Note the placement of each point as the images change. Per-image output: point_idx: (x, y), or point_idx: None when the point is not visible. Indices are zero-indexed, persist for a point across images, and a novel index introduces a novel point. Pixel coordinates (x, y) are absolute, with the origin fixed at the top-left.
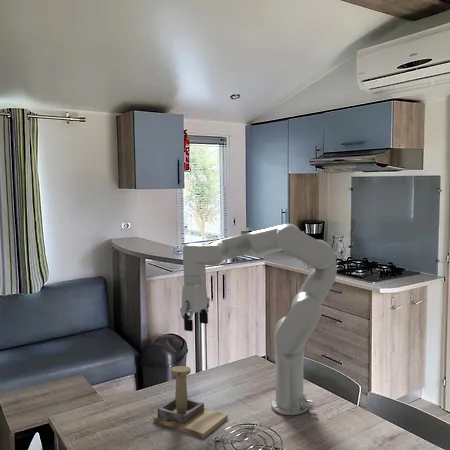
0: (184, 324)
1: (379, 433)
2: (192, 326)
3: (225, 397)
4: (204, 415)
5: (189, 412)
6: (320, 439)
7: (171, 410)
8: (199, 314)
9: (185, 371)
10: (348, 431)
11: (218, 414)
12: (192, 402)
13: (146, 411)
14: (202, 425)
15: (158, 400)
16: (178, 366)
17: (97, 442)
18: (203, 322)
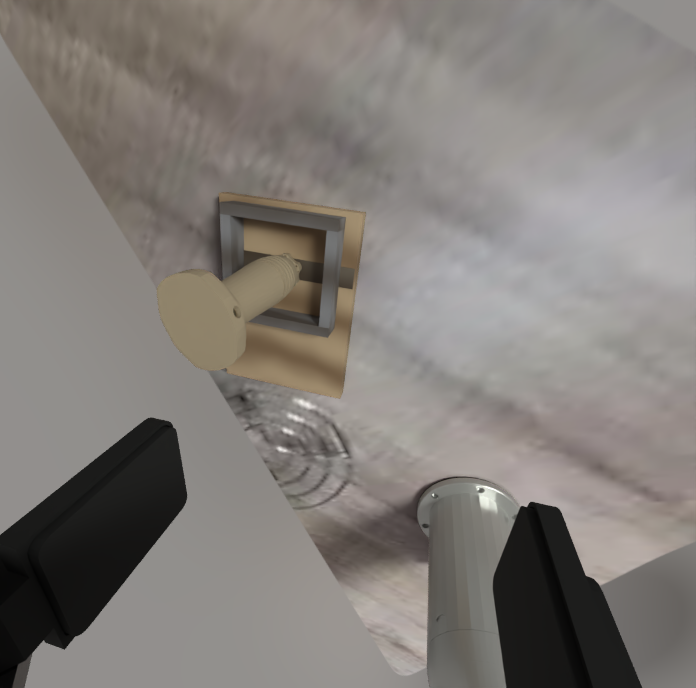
0: (89, 470)
1: (408, 636)
2: (140, 547)
3: (478, 343)
4: (306, 341)
5: (253, 320)
6: (345, 562)
7: (284, 226)
8: (568, 662)
9: (188, 358)
10: (395, 600)
11: (329, 376)
12: (322, 295)
13: (268, 113)
14: (257, 357)
15: (366, 96)
16: (214, 297)
17: (54, 97)
18: (506, 558)
